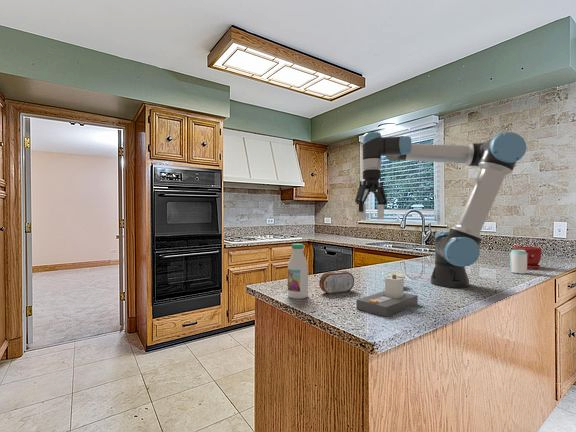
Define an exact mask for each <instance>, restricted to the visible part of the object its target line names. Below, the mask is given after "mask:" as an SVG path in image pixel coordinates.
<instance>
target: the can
mask: <svg viewBox="0 0 576 432" xmlns="http://www.w3.org/2000/svg"><path fill="white" fill-rule="evenodd" d="M527 254H528V253H526V251H525V250H511V251H510V254H509V255H510V256H509V264H510V266H509V269H510V270H509V272H511V273H512V274H515V273H519V274H518V275H526V274H527V273H528V269H527Z"/></svg>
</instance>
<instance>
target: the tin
mask: <svg viewBox="0 0 576 432" xmlns="http://www.w3.org/2000/svg"><path fill="white" fill-rule="evenodd" d="M318 284H319V288H320V290H321V291H322V292H324V293H326V294H330V295H333V294H340V293H341V294H342V293H347V292H349V291H351V290H352V289H353V287H354V284H355V277H354V275H353V273H350V272H349V271H347V270H337V271H335V270H334V271H327V272H325V273H323V274H322V275H321V277H320V279H319V283H318Z"/></svg>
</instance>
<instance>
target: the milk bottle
mask: <svg viewBox="0 0 576 432" xmlns="http://www.w3.org/2000/svg"><path fill="white" fill-rule="evenodd" d="M304 249H305V244H303V243H291V251H292V253H291V255H290V258H289V260H288V264H287V296H288V298H290V299H294V300H299V299H300V300H301V299H306V298H308V296H309V267H308V265H309V264H308V261H307V259H306V256H305V253H304Z"/></svg>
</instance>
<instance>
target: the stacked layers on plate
mask: <svg viewBox="0 0 576 432" xmlns="http://www.w3.org/2000/svg"><path fill="white" fill-rule="evenodd" d="M392 275H396V277H398V278H403V288H404V284H406V282H405V281H404V279H405V277H404V275H405V274H404V273H397V272H396V273H389V274H386V276H387V277H386V278H388V277H392Z"/></svg>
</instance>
